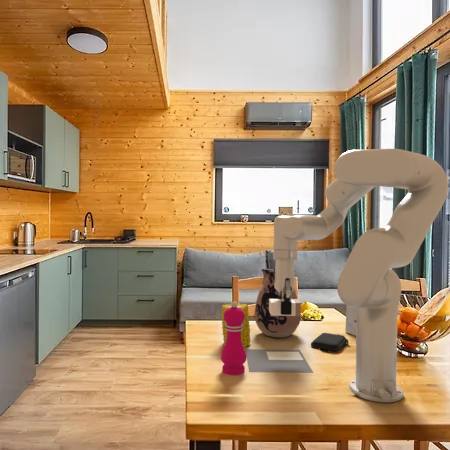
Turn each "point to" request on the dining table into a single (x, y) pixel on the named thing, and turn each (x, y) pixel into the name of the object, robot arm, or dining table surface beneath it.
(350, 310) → the skincare box
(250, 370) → the mat
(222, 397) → the dining table surface
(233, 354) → the pepper mill
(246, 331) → the food
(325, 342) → the carrying case or bag
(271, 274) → the ceramic pitcher
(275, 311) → the box
